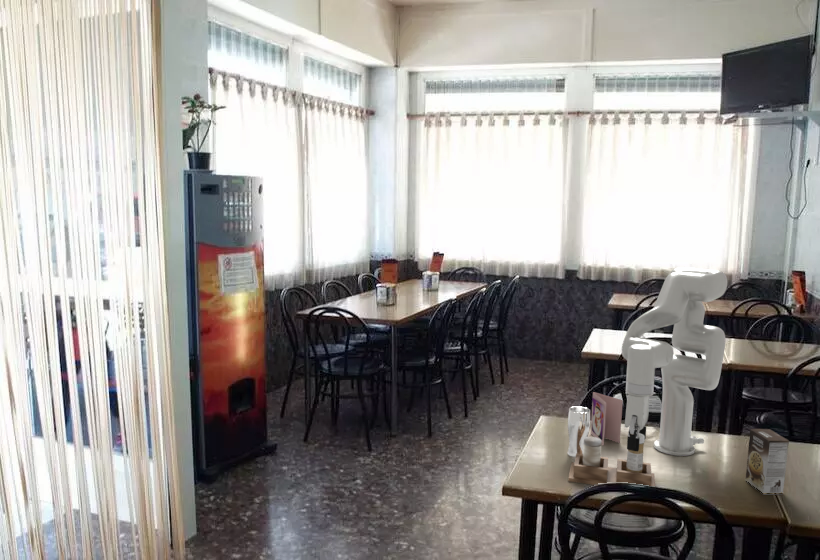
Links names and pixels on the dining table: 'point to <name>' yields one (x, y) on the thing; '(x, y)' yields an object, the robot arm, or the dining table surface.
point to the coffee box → (767, 460)
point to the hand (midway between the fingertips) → (636, 444)
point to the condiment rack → (605, 468)
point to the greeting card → (606, 417)
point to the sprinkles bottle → (636, 457)
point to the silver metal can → (578, 429)
